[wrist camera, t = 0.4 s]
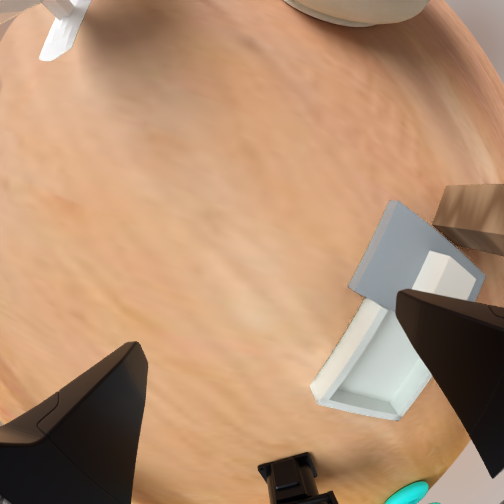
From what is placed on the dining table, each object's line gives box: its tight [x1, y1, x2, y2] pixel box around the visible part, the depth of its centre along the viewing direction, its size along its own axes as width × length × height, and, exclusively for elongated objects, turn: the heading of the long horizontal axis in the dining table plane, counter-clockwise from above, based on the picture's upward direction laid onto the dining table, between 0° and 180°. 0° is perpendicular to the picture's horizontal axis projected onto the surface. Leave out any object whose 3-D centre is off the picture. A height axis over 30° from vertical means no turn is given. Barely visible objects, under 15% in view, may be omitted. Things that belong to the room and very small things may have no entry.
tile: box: [412, 251, 476, 300], centre depth 21 cm, size 5×5×3 cm
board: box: [348, 201, 486, 312], centre depth 23 cm, size 8×16×2 cm, turn 63°
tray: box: [310, 297, 432, 421], centre depth 23 cm, size 10×12×3 cm
